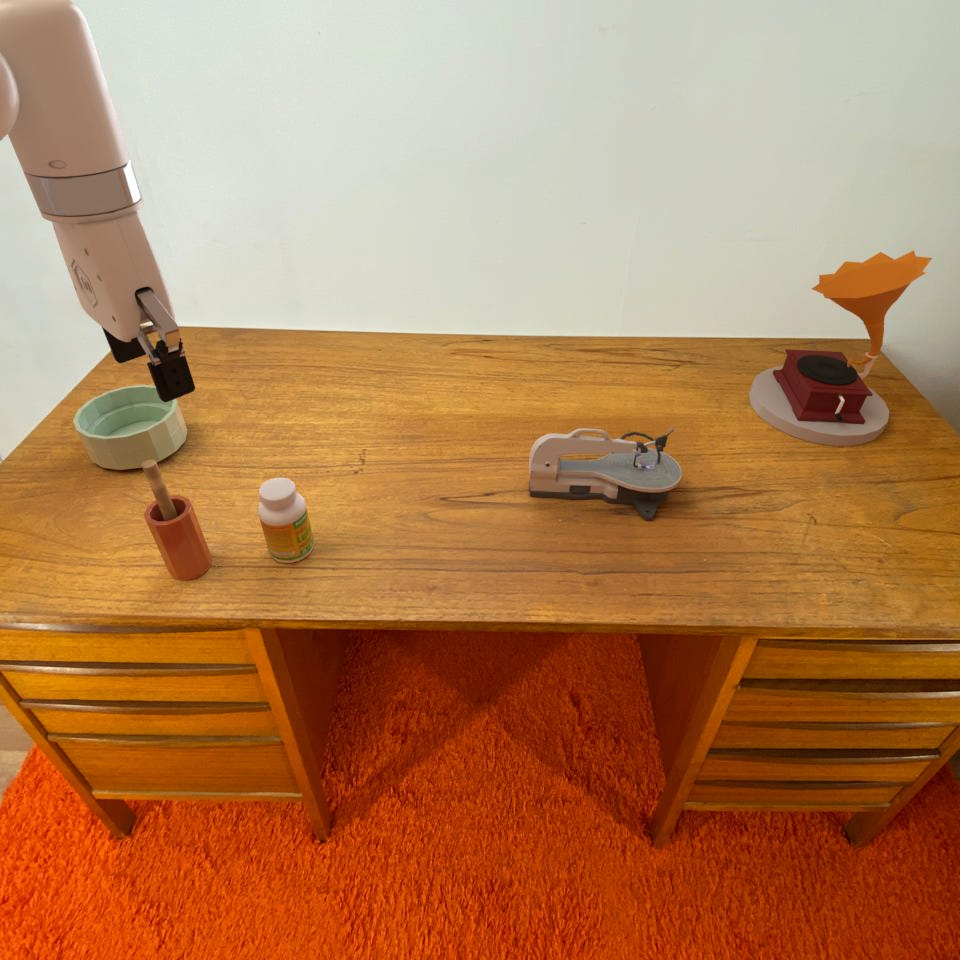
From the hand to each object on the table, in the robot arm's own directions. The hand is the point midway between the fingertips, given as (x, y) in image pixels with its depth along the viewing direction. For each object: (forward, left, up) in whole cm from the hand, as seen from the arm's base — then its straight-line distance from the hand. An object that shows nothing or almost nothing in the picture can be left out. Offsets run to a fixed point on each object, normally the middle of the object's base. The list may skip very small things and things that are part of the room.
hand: (154, 376), depth 62 cm
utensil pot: (-3, -1, -24) cm, 25 cm away
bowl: (-3, +27, -24) cm, 37 cm away
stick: (-3, -1, -24) cm, 24 cm away
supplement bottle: (+8, -5, -25) cm, 26 cm away
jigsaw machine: (+47, -18, -25) cm, 56 cm away
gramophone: (+90, -22, -25) cm, 95 cm away
